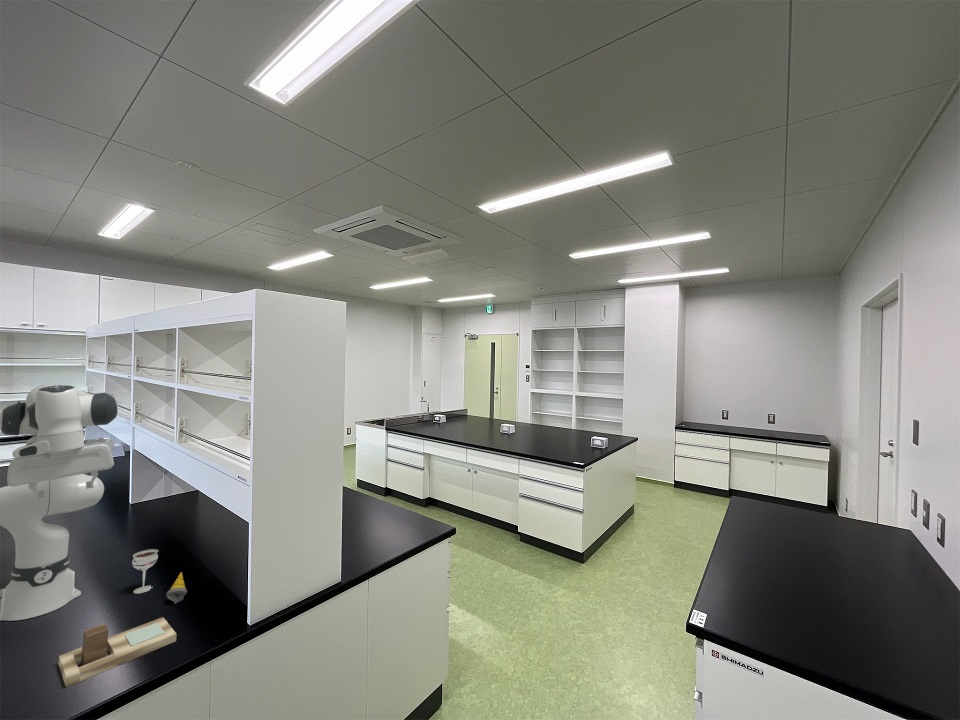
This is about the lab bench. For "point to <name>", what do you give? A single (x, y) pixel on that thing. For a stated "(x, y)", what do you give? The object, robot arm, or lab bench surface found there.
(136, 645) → the puzzle board
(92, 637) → the walnut peg
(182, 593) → the ice cream cone
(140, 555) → the wineglass
